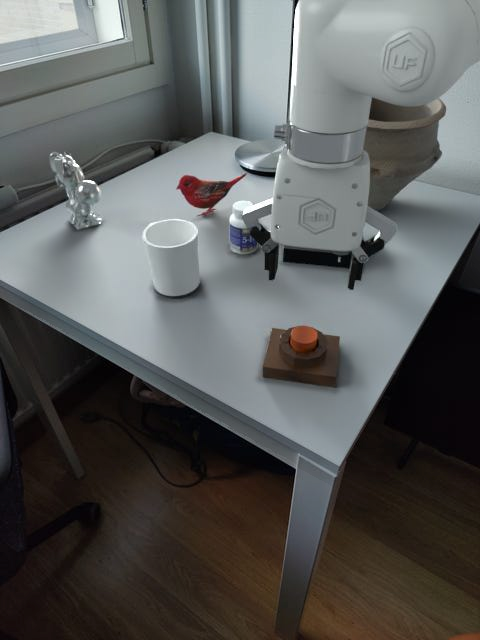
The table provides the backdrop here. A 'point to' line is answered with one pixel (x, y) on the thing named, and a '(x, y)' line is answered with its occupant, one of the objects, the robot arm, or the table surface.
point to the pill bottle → (241, 230)
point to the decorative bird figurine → (205, 191)
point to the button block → (302, 359)
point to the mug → (173, 257)
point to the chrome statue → (76, 190)
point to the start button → (303, 339)
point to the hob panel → (315, 257)
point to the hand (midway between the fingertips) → (311, 278)
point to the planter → (400, 146)
